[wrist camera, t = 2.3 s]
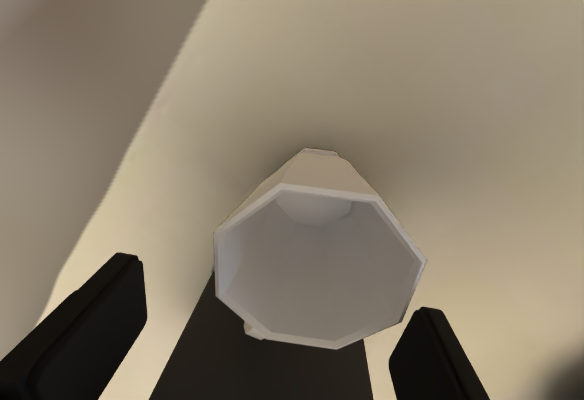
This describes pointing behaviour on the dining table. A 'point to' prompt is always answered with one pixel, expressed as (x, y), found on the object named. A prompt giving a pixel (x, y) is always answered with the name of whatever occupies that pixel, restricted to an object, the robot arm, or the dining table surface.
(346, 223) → the cup
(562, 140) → the dining table surface
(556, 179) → the dining table surface
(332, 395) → the black box with button
